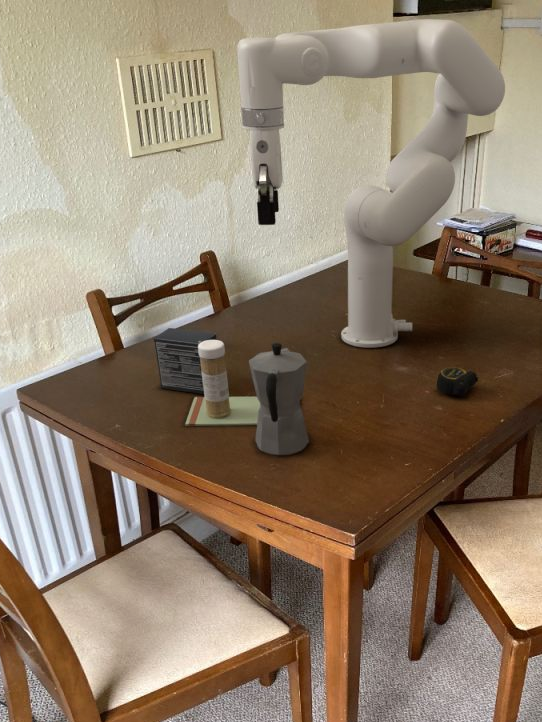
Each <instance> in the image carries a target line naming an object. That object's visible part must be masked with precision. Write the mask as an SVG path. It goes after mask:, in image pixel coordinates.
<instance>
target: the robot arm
mask: <svg viewBox="0 0 542 722" xmlns="http://www.w3.org/2000/svg"><path fill="white" fill-rule="evenodd" d="M236 55H237V70H238V82H239V84H238V85H239V96H240V109H241V110H240V111H241V122H242V123H241V124H242V129H243V130H246V131H249V132H248V133H249V148H250V161H251V171H252V173H251V174H252V181H253V187H254V188H255V189H256V191H257V199H256V200H257V202H256V208H257V210H256V211H257V224H258V225H259V226H275V225H276V222H277V221H276V219H277V218H276V213H279V210H280V208H279V207H280V206H279V189H280V188H282V184H283V181H284V180H283V179H284V176H283V175H284V174H283V164H282V163H283V162H282V161H283V160H282V146H281V136H280V135H281V133H280V130H281V129H284V128H285V111H284V110H285V109H284V91H283V86H284V84H288V85H300V86H311V85H314V84H317V83H319V82H321V80H322V79H323V78H324V77H346V78H353V79H378V78H384V77H393V76H400V75H411V74H419V73H432V74H433V73H434V74H438V75H437V76H436V79H435V82H434V87H433V107H432V112H431V116H430V118H429V120H428V122H427V123H426V125H425V126H423V128H422V130H420V131H419V133H418V134H416V136H415V137H414V138H413V139H411V141H409V143H408V144H406V145H405V146H404V147H403V148H402V149H401V151H400V152H398V153H397V154H396V156H395V157H393V158H392V160H391V161H390V162H389V163H388V165H387V168H386V171H385V182H386V185H387V187H388V189H390V190H387V189H384V188H381V187H379V186H376V185H370V184H365V185H360V186H359V187H356V188H355V189H354V190H352V191H351V192H350V194H349V195H348V196H347V198H346V200H345V203H344V208H343V221H344V222H343V223H344V229H345V235H346V243H347V326H346V327H344V328H343V329H342V330H341V332H340V337H341V340H342V342H344V343H346V344H348V345H349V346H352V347H356V348H364V349H371V348H372V349H374V348H375V349H376V348H382V347H387V346H389V345H390V346H391V345H392V344H394V343H395V342H396V341H397V340H398V338H399V332H413V322H407V319H396V318H394V317H393V313H392V311H393V310H392V309H393V279H394V278H393V277H394V250H393V249H394V247H397V246H400V245H402V244H404V243H405V242H407V241H408V240H410V239H411V238H412V237H413V236H414V235H415V234H417V232H419V230H421V229H422V227H424V225H425V224H426V223H428V221H430V220H431V219H432V218H433V217H434V216H435V215H436V214H437V213H438V212H439V211H440V209H441V208H442V207H443V206H444V205H446V203H447V202H448V200H449V198H450V197H451V195H452V193H453V191H454V187H455V183H456V171H455V169H454V167H453V164H452V163H451V162H452V161H453V160H454V159H455V158H456V157H457V156H458V155H459V153H460V152H461V150H462V149H463V146H464V144H465V142H466V136H467V131H468V120H469V115H471V116H476V117H485V116H489V115H491V114H492V113H494V112H495V111H496V110H498V109H499V107H500V106H501V105H502V103H503V101H504V98H505V95H506V94H505V93H506V82H505V79H504V76H503V73H502V71H501V69H500V68H499V67H498V66H497V64H496V63H495V62H494V61H493V59H491V57H490V56H489V55H488V53H487V52H486V51H485V50H484V49H483V47H482V46H481V45H480V44H479V43H478V41H477V40H476V39H475V37H474V36H473V35H472V34H471V33H470V32H469V31H468V30H467V29H466V28H465V27H464V26H463V25H462V24H461V23H459V22H457V21H455V20H451V19H435V18H433V19H432V18H423V19H421V18H420V19H411V20H401V21H390V22H379V23H368V24H359V25H350V26H346V27H340V28H329V29H317V30H306V31H305V30H303V31H294V32H287V33H286V32H285V33H280V34H279V35H277V36H276V37H264V36H263V37H246V38H242V39H240V40H239V41H238V43H237V47H236Z"/></svg>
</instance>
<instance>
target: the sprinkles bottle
mask: <svg viewBox="0 0 542 722" xmlns="http://www.w3.org/2000/svg"><path fill="white" fill-rule="evenodd" d="M225 347H226V346H225V343H224V342H223V341H222V340H218V339H217V340H206V341H203V342H201V343H200V344H199V345H198V352H199V356H200V360H201V368H202V380H203V388H204V394H203V395H204V396H203V397H205V401H206V409H207V410H206V413H207V415H208V416H210V417H213V418H221V417H225V416H227V415H228V414H230V412H231V409H230V404H229V397H230V392H229V391H230V390H229V381H228V372H227V371H228V370H227V366H226V358H225V356H226V355H225V354H226V348H225Z"/></svg>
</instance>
